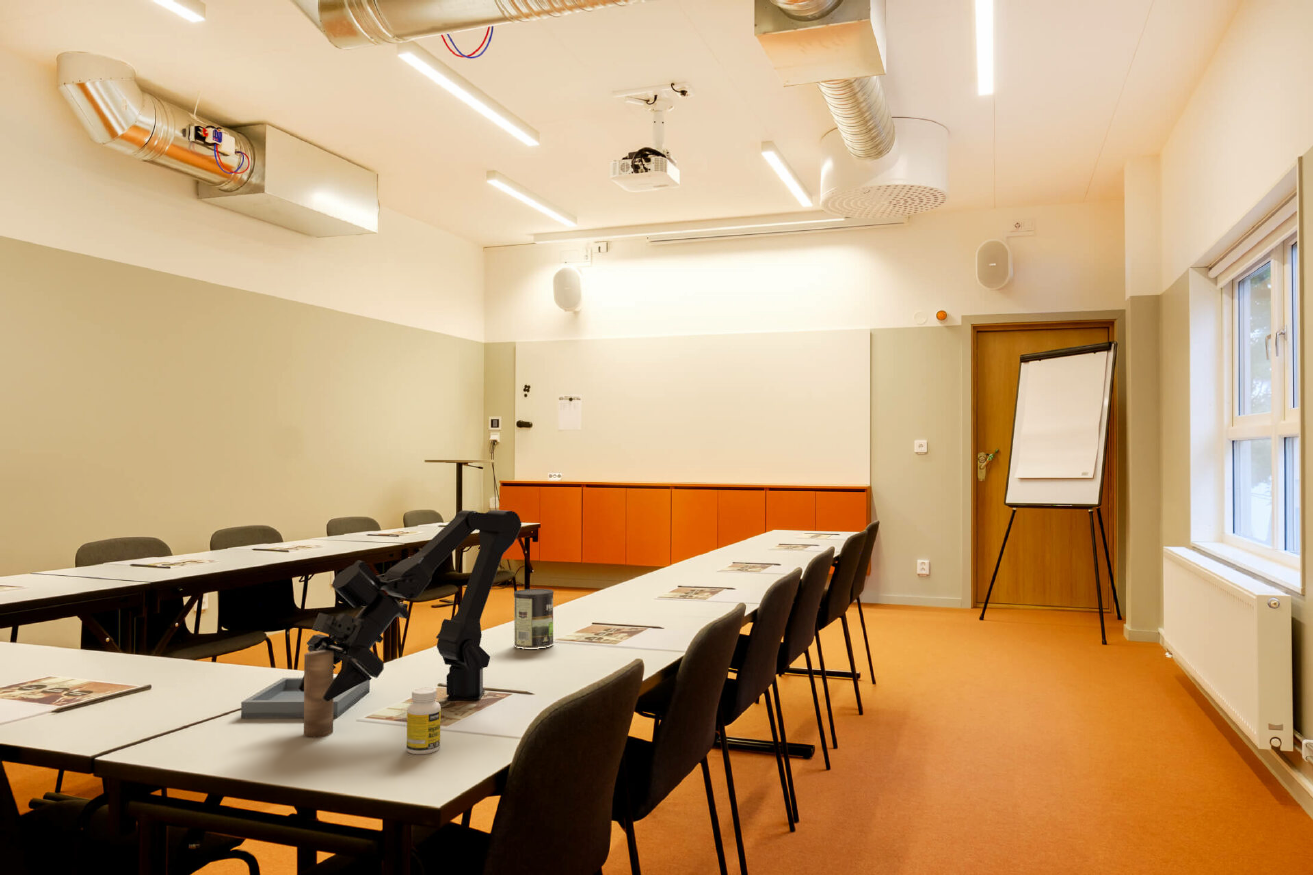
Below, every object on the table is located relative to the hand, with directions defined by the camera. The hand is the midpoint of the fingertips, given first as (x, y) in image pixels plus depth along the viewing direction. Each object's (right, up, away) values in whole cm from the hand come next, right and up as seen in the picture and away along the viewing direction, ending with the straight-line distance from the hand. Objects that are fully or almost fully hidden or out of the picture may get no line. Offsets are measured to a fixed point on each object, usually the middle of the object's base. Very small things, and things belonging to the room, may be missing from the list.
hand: (312, 694), depth 149 cm
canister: (+1, -7, +1) cm, 7 cm away
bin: (-8, -8, +19) cm, 22 cm away
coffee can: (+29, -9, +72) cm, 78 cm away
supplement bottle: (+22, -7, -8) cm, 24 cm away
